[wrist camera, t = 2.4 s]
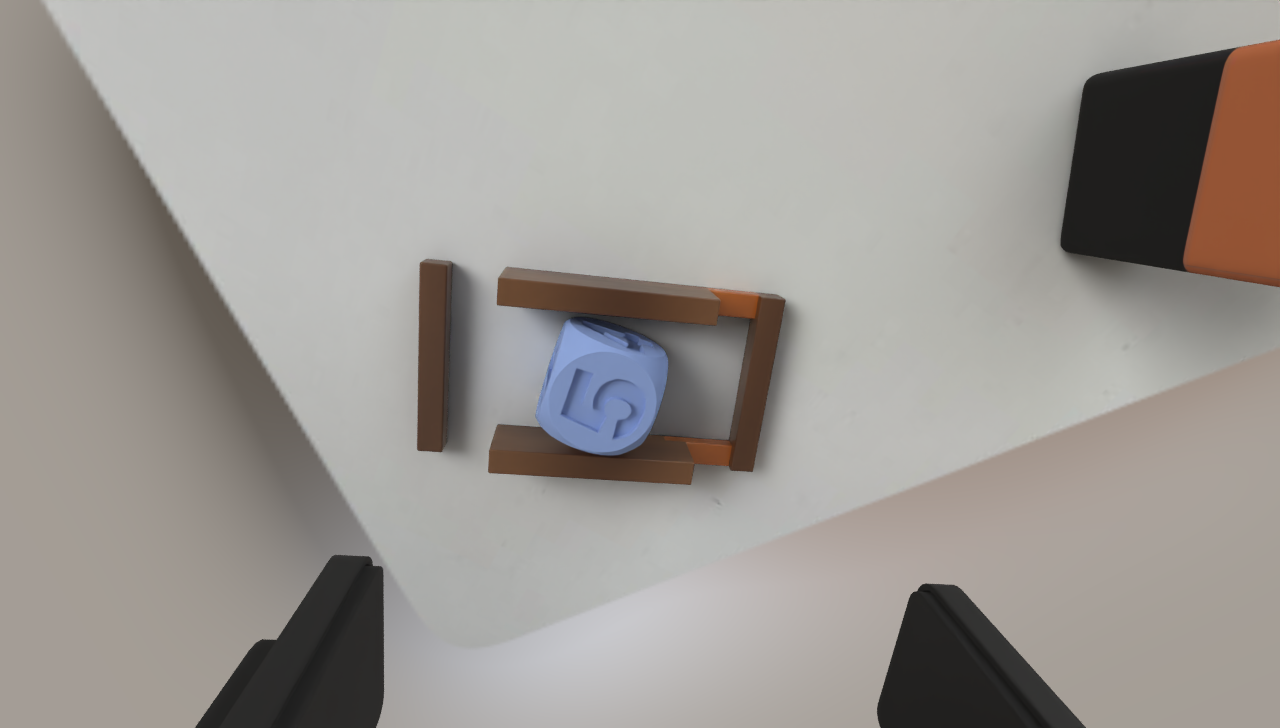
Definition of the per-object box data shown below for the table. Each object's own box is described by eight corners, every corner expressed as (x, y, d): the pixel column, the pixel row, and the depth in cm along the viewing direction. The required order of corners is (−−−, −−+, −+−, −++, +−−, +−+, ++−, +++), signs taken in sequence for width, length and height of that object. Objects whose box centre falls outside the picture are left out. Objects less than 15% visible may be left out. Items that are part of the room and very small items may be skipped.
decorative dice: (567, 308, 24) (565, 333, 20) (660, 338, 25) (676, 368, 21) (537, 397, 25) (531, 437, 21) (628, 424, 26) (637, 467, 22)
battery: (1182, 69, 24) (1583, 2, 14) (1148, 244, 26) (1478, 287, 16) (1078, 75, 23) (1418, 10, 14) (1052, 252, 26) (1333, 300, 16)
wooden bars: (422, 440, 25) (406, 468, 23) (425, 258, 23) (408, 268, 21) (746, 461, 27) (763, 489, 25) (778, 294, 25) (799, 307, 23)
